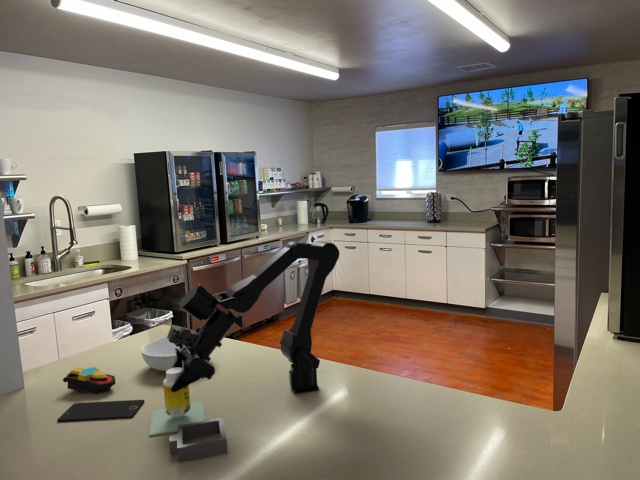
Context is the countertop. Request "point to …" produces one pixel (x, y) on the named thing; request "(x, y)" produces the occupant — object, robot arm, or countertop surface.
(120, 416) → the cell phone
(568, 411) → the countertop surface
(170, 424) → the mat
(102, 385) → the gadget
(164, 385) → the supplement bottle
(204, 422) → the collar
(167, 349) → the serving bowl
